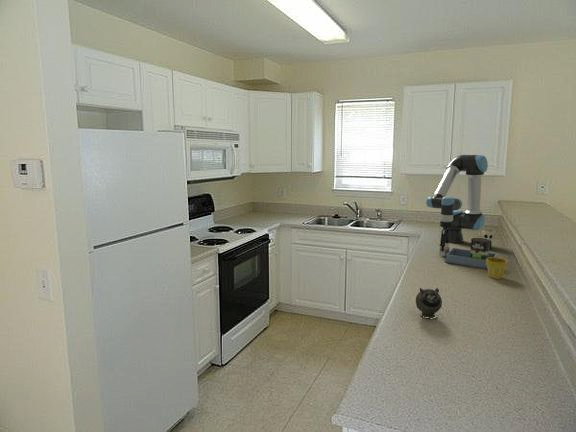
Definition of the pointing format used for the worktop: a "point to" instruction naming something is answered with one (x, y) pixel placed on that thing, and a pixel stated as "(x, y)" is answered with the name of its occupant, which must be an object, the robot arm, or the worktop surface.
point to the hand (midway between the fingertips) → (444, 254)
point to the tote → (466, 258)
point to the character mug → (488, 236)
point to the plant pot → (496, 267)
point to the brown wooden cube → (445, 250)
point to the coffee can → (479, 248)
